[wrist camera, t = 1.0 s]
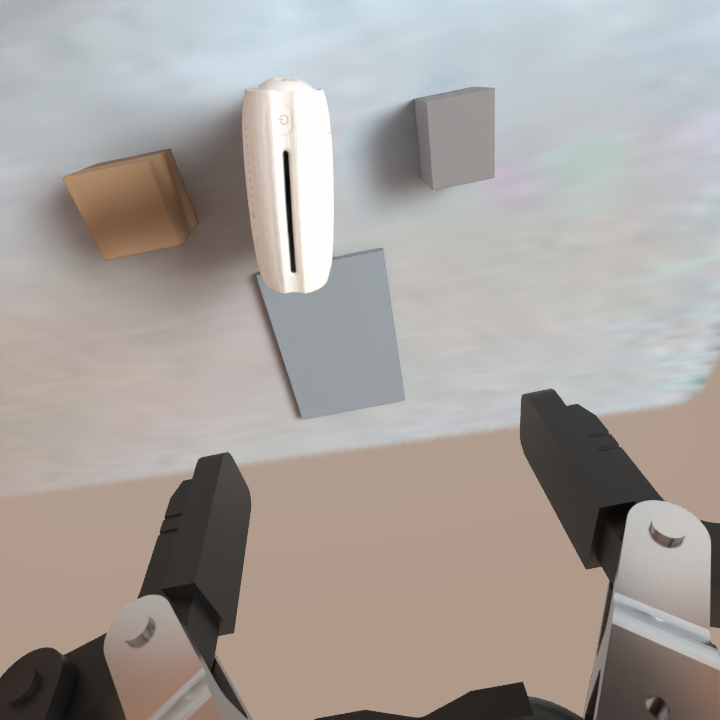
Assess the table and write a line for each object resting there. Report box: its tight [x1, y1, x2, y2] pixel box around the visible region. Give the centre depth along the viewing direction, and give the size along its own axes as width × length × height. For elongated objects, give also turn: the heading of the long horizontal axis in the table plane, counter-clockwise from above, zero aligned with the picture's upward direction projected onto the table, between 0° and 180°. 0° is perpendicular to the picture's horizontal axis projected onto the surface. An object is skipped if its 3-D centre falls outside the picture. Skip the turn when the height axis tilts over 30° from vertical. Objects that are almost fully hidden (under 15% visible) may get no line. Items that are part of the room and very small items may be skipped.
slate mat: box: [256, 248, 405, 420], centre depth 38 cm, size 15×10×1 cm, turn 10°
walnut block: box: [62, 149, 198, 260], centre depth 28 cm, size 5×5×5 cm
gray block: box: [414, 87, 494, 190], centre depth 28 cm, size 5×4×4 cm
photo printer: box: [242, 77, 334, 294], centre depth 25 cm, size 10×4×12 cm, turn 179°
